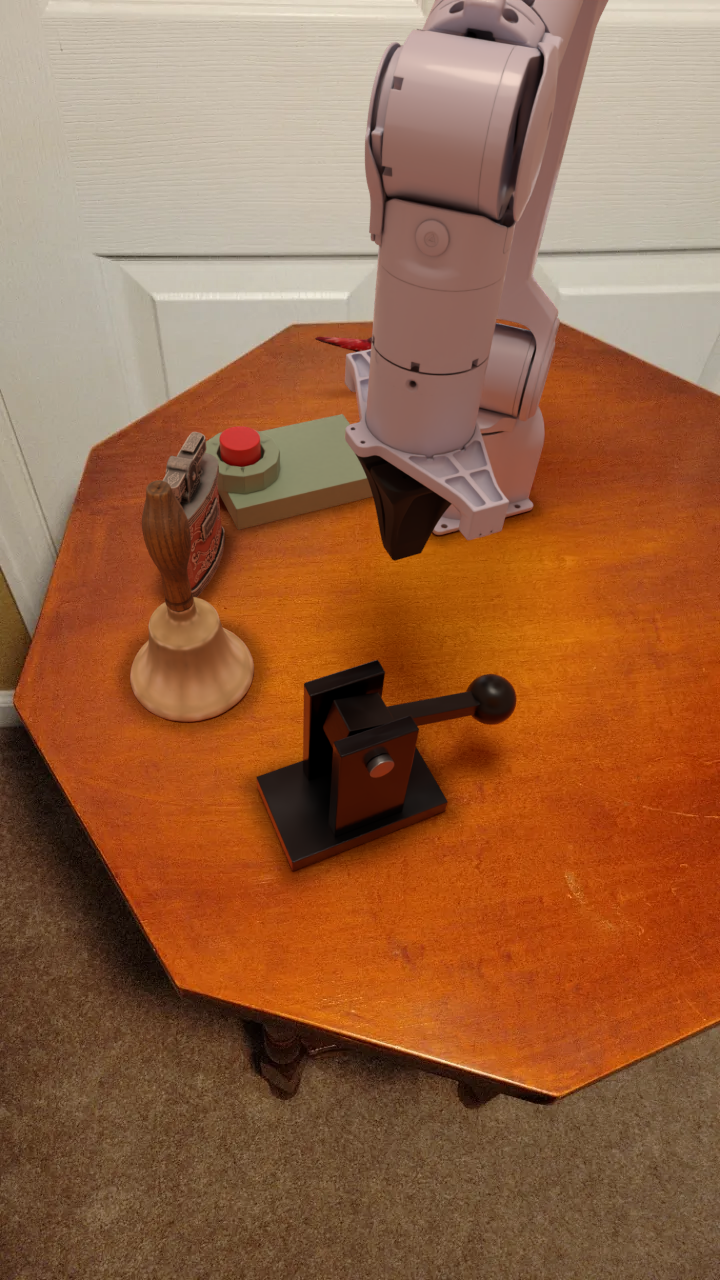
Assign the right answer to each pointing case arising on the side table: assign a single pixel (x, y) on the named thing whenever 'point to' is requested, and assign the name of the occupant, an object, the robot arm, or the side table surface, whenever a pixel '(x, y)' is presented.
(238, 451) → the button
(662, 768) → the side table surface
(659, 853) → the side table surface
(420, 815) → the lever base
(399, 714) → the black lever handle
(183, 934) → the side table surface
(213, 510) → the lighter
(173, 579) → the hand bell
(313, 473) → the button box
